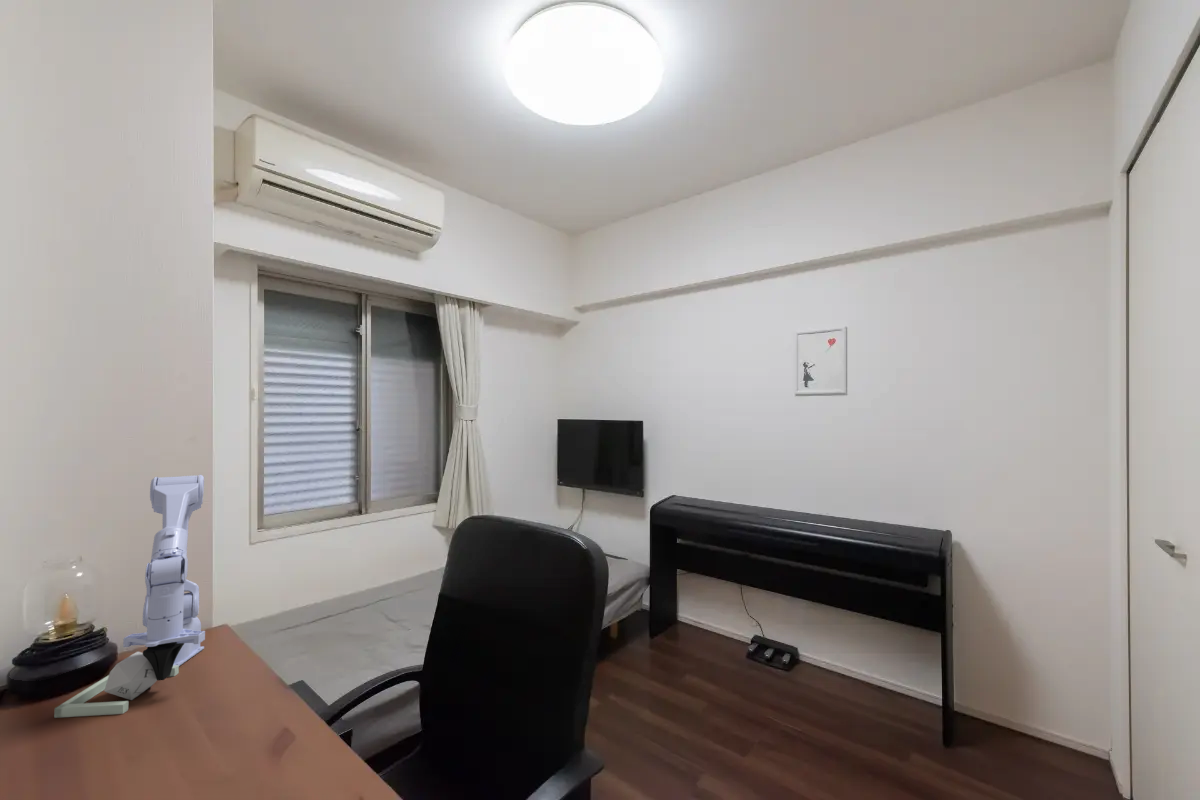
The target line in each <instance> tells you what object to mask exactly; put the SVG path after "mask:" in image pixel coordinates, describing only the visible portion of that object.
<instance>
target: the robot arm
mask: <svg viewBox="0 0 1200 800" xmlns="http://www.w3.org/2000/svg"><path fill="white" fill-rule="evenodd" d="M150 481H151V482H150V488H149V498H150V499H149V500H150V502H151V508H152V509H153V512H154V513H157V514H160V515H162V529H161V530H158V531H157V532H156V533H155V535H154V537H153V543H152V550H151V557H150V562H147V564H146V567H145V574H144V576H145V577H144V583H145V586H146V587H145V588H146V595H145V599H144V600H145V601H144V605H143V610H142V625H143V626H144V627H145V628H146V632H145V631H144V632H139V633H138V632H137V633H131V634H129V635H127V636H125V637H123V638H122V640H123V642H122V646H123V648H130V647H131V646H145V648H146V649H144V650H143V651H142V653H143V656H144V657H146V658H147V660H148V661H149V662H150V664H151V666H152V668H153V670H154V673H155V676H156V679H157V681H164V680H166V679H167V678H168V677H171V676H170V674H171V670H172V667H173V666H174V665H179V667H180V666H181V665H183V664H185V662H187V661H188V660H190V659H191V658H192V657H194V656H195V655H197V654H198V653H200V652H201V651H203V650H204V649H205V646H201V643H203V642H204V641H205V640H206V630H202V623H201V620H200V619H199V617H198V615H199V613H200V586H199V585H198V583H196V582H194V581H192V580H189V579H187V577H188V572H189V571H188V570H189V559H188V541H189V522H190V519H191V517H192V514H193V512H194V511H197V510H199V509H201V508H202V505H203V503H204V502H203V501H204V493H205V492H204V491H205V477H204V475H202V474H198V475H183V476H182V475H180V476H163V477H162V476H161V477H159V476H154V478H152V479H151V480H150Z"/></svg>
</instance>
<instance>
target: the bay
mask: <svg viewBox="0 0 1200 800" xmlns="http://www.w3.org/2000/svg"><path fill="white" fill-rule="evenodd" d="M179 668H180V666H179V665H174V666H173V667H172V670H171V674H170V676H169V677H175V676H177V675H179V673H180V672H179V671H180V669H179ZM108 677H109V674H108V675H107V676H105V677H103V678H101V679H100V680H99V681H97V682H94V683H93V684H92V685H90V686H88V687H87V688H85V689H83V690H82V691H81V692H79V693H77V694H76V695H74V696H72V697H71V698H69V699H67V700H66V701H64V702H62V703H61V704H60V705H57V706H56V707H54V715H53V717H54V718H55V719H56V718H57V719H58V718H73V717H74V718H75V717H89V716H91V717H92V716H107V715H109V716H110V715H123V714H125V713H126V712H127V711H129V700H118V701H117V700H116V701H103V702H102V701H101V702H100V701H99V702H87V701H89V700H91V699H92V698H93V697H95V696H97V695H98V694H100V693H102V692H104V691H105V688H106V684H107V681H108Z"/></svg>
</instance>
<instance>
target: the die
mask: <svg viewBox="0 0 1200 800" xmlns="http://www.w3.org/2000/svg"><path fill="white" fill-rule="evenodd" d="M108 675H109V677H108V681H107V684H106V688H105V690H103V692H105V693H107V694H111V695H114V696H117V697H120V698H122V699H126V700H128V701H129V700H130V701H133V700H134V699H135V698H137V697H139V696H140V695H141V694H143V693H144V692H145V691H146V690H148V689H150V688H151V687H152V686H153V685H154V684H155V683H156V682H158V680H157V679H156V676H155V673H154V670H153V668H152V666H151V664H150V662H149V661H148V660H147V658H146V657H144V656H143V652H141V651H138V650H137V651H136V652H134V653H132V654H131V655H129V656H127V657H126V658H124V659H122V660H121V661H119V662H117V663H116V664H115V666H114V667H113V668H112V669H111V670H110V671H109V674H108Z"/></svg>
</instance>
